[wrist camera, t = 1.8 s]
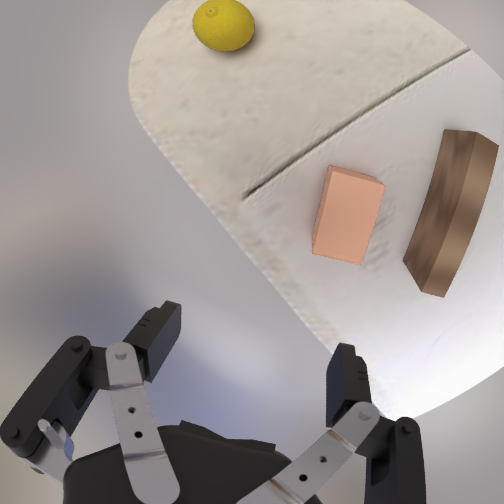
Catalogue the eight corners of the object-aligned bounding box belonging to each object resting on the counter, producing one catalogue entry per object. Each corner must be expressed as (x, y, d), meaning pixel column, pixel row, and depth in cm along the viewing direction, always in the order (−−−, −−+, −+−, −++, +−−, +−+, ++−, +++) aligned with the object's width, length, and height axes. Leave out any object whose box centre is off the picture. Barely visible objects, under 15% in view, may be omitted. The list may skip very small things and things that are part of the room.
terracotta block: (328, 164, 28) (332, 171, 23) (373, 177, 27) (385, 185, 23) (311, 235, 31) (311, 253, 27) (354, 245, 31) (360, 265, 26)
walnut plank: (444, 129, 23) (476, 131, 17) (464, 139, 23) (498, 145, 17) (402, 260, 30) (421, 291, 24) (423, 266, 30) (443, 297, 24)
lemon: (203, 28, 24) (172, 3, 16) (250, 9, 22) (231, -23, 15) (219, 66, 25) (190, 48, 18) (268, 48, 24) (253, 22, 17)
